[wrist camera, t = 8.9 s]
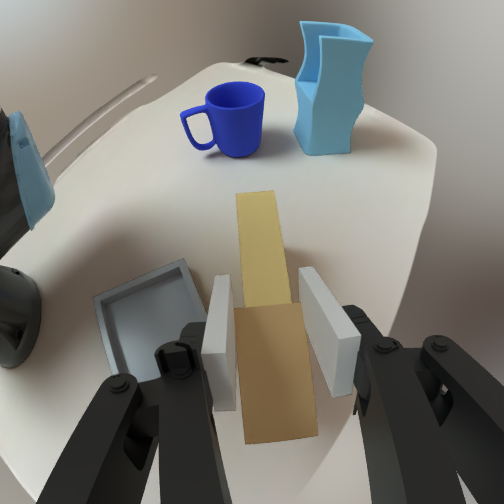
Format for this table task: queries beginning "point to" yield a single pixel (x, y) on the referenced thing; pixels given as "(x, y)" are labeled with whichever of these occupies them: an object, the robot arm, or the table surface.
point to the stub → (274, 373)
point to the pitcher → (330, 86)
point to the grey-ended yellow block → (261, 250)
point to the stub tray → (147, 317)
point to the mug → (231, 118)
